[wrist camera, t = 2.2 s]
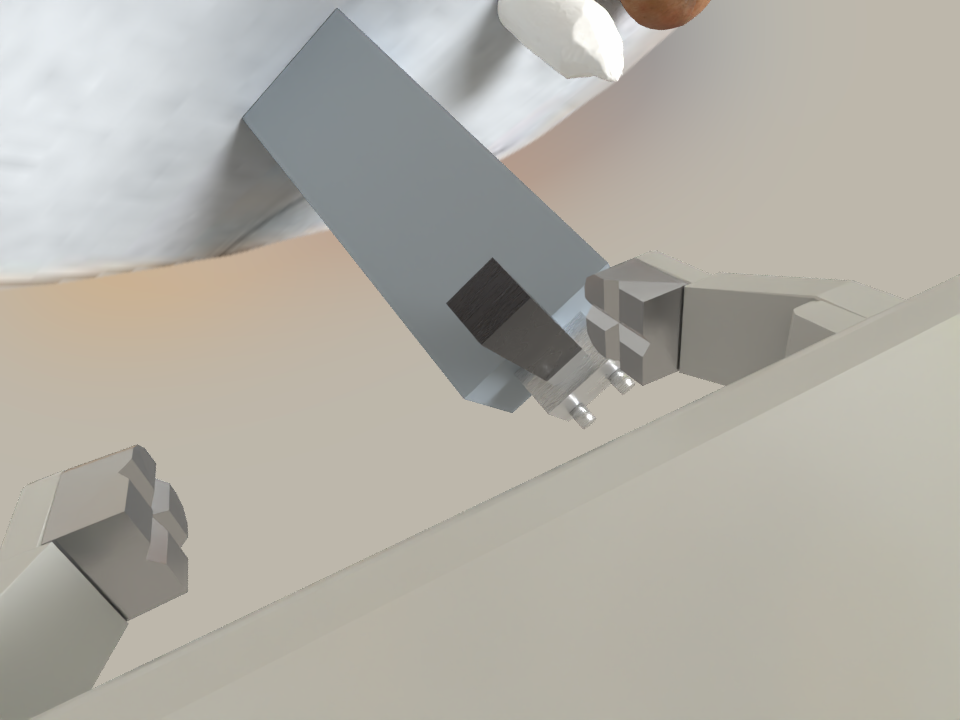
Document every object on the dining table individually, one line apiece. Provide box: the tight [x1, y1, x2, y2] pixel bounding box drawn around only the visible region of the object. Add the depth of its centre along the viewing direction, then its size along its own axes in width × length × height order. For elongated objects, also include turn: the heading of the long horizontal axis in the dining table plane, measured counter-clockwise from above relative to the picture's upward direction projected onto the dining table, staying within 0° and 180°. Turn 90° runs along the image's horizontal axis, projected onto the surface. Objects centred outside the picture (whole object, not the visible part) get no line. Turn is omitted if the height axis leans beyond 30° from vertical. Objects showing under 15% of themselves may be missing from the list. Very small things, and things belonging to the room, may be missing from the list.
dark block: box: [446, 257, 635, 429], centre depth 27 cm, size 16×5×4 cm, turn 27°
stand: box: [242, 8, 610, 413], centre depth 37 cm, size 8×10×27 cm
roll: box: [497, 0, 624, 82], centre depth 44 cm, size 6×12×6 cm
